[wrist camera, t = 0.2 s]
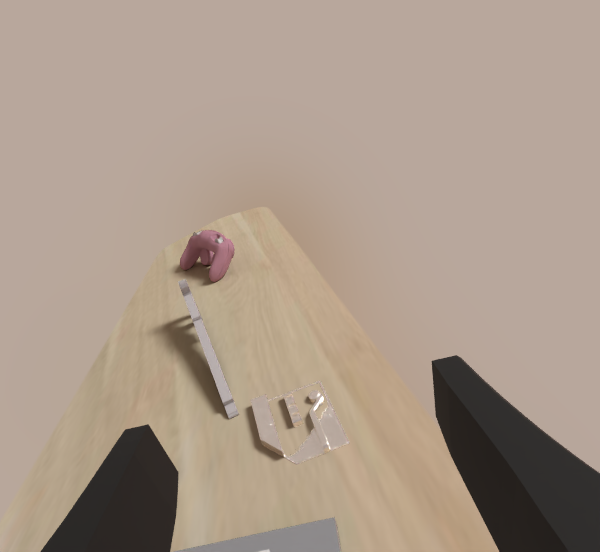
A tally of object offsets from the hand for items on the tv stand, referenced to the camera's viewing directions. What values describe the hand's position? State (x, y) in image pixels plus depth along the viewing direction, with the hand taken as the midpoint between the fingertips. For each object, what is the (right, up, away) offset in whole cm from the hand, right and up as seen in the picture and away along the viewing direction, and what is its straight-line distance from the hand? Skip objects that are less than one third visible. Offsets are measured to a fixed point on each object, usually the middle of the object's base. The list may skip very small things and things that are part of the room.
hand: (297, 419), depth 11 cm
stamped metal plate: (0, -10, +27) cm, 29 cm away
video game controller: (-14, +5, +57) cm, 59 cm away
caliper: (-10, -6, +38) cm, 39 cm away
